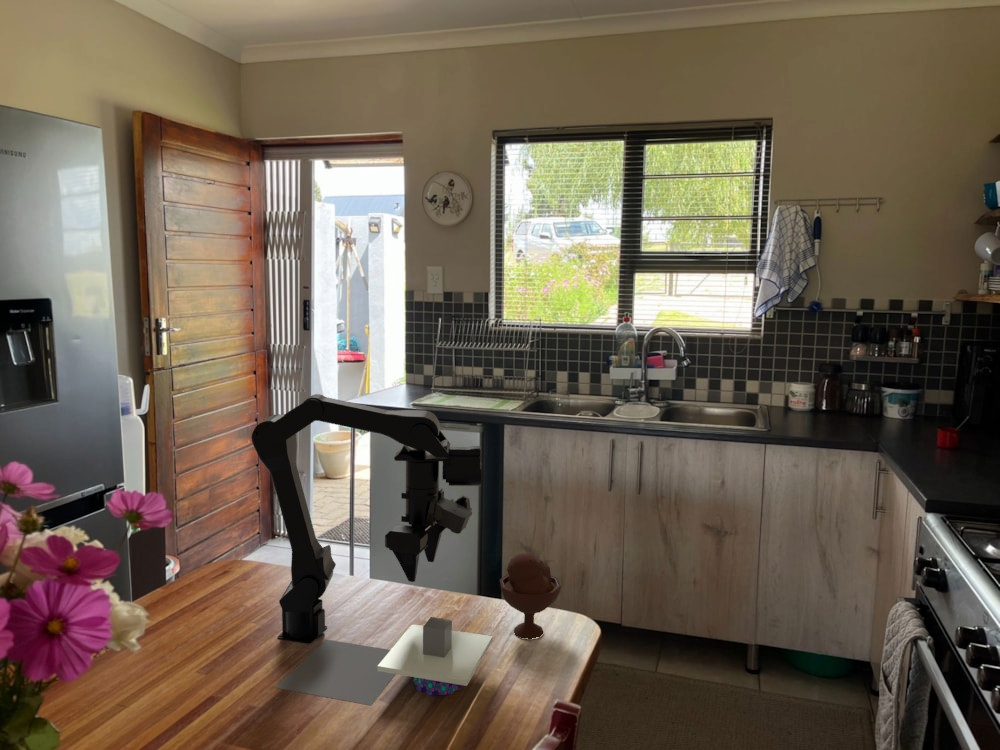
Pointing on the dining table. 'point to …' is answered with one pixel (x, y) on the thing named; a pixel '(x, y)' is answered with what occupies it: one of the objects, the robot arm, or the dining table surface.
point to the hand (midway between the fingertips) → (421, 571)
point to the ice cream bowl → (529, 591)
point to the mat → (340, 673)
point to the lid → (436, 653)
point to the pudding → (435, 687)
